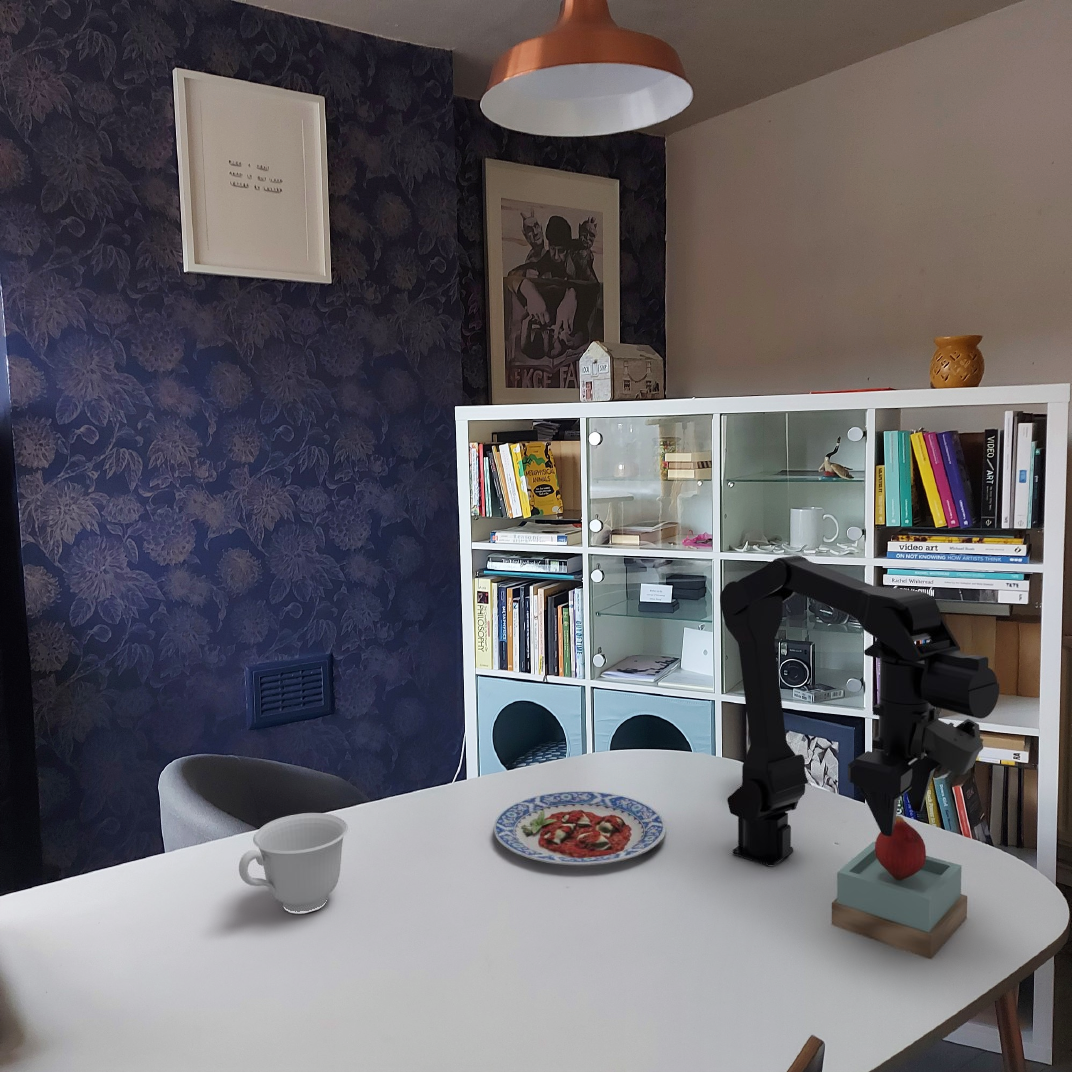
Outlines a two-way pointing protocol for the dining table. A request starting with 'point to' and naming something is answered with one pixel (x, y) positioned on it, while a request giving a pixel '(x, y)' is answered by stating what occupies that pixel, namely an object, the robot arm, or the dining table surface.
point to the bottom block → (901, 928)
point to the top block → (899, 890)
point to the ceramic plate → (579, 828)
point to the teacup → (298, 858)
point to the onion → (901, 850)
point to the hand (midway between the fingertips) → (902, 822)
